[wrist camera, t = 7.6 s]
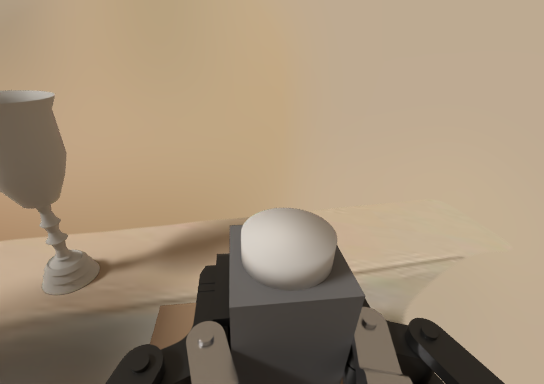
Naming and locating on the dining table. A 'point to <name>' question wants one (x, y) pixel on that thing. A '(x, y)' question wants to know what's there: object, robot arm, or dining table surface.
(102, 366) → the dining table surface
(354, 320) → the plug
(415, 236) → the dining table surface
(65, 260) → the chalice
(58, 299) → the dining table surface
